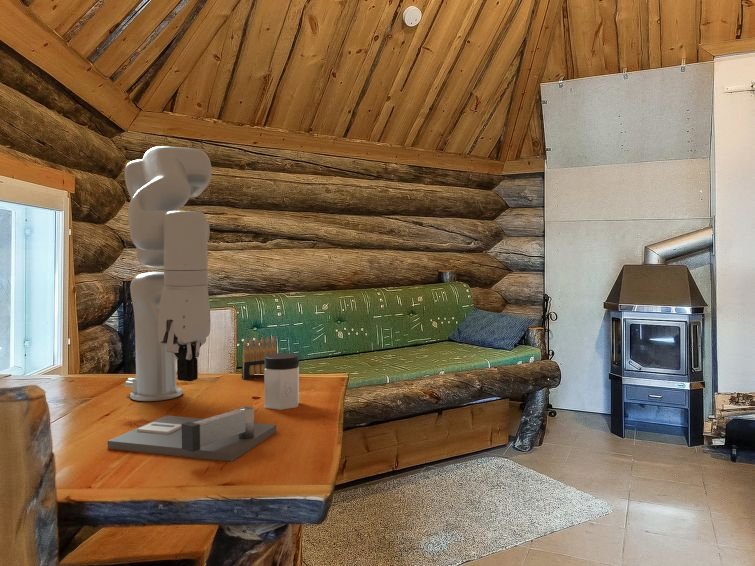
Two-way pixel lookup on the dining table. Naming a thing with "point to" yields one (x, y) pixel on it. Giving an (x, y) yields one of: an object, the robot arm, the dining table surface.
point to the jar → (281, 381)
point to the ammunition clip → (256, 357)
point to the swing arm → (218, 428)
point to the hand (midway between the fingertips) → (187, 379)
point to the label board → (168, 440)
